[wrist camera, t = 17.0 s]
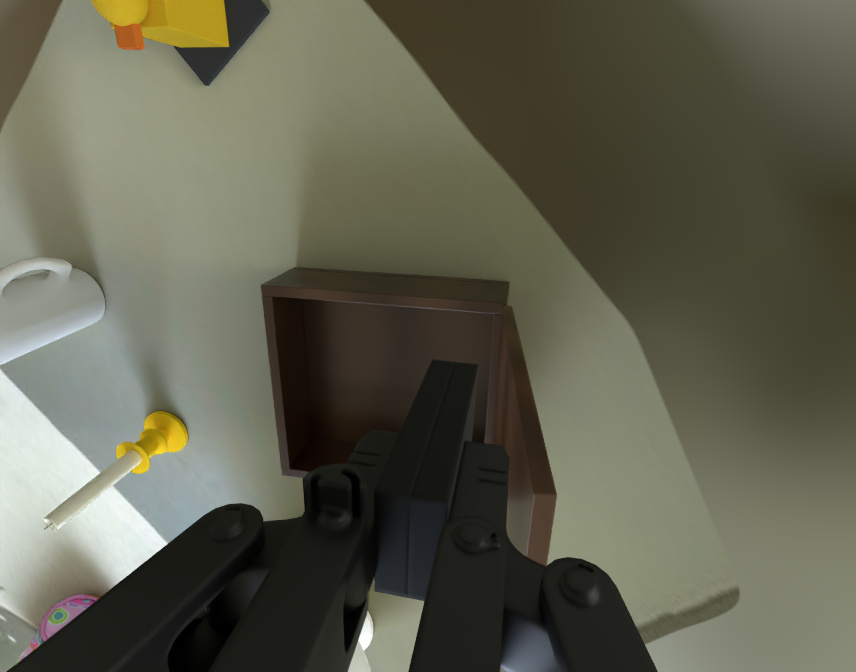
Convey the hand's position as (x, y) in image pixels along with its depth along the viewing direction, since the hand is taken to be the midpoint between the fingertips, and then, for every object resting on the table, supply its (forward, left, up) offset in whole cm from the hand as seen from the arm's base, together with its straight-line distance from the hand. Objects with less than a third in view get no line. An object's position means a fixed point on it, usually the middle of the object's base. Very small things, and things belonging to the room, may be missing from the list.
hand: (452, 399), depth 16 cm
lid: (+7, +11, -10) cm, 16 cm away
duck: (+8, -29, -27) cm, 40 cm away
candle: (+43, -5, -28) cm, 51 cm away
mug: (+37, -22, -28) cm, 51 cm away
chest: (+15, +4, -27) cm, 31 cm away
